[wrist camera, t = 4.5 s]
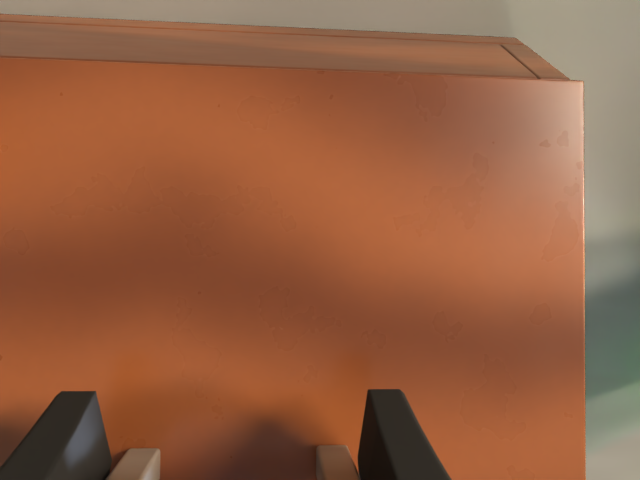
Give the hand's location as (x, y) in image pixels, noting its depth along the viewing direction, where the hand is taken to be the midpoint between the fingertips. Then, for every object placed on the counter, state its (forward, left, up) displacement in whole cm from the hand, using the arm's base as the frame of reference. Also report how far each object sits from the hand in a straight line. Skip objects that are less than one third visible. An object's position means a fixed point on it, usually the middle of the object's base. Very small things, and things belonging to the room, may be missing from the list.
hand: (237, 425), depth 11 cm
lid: (+1, 0, -3) cm, 3 cm away
